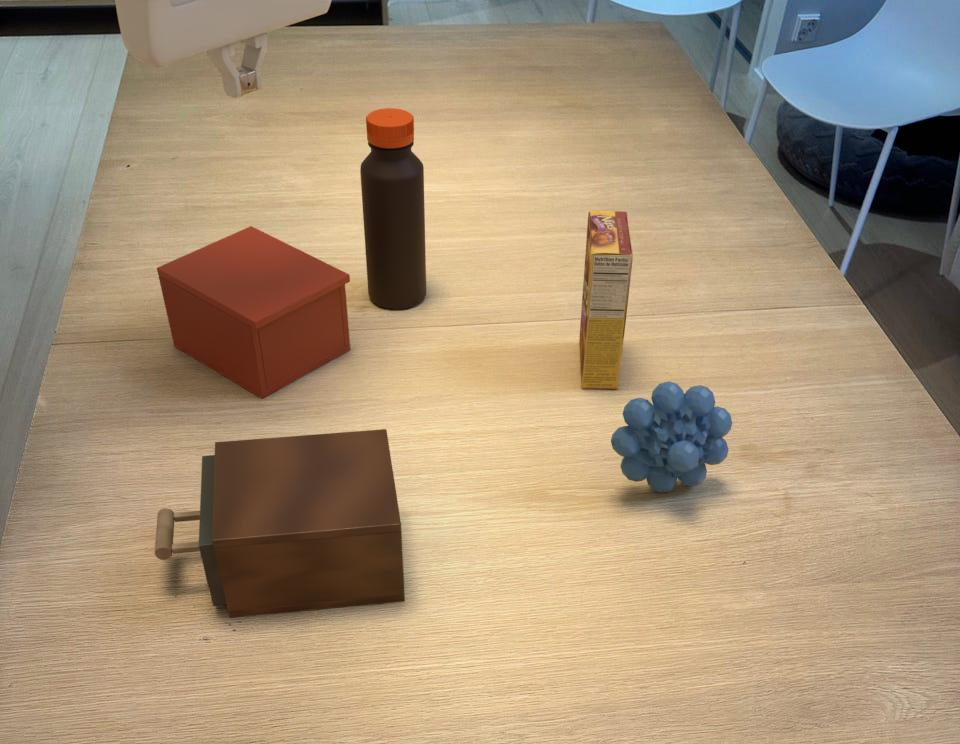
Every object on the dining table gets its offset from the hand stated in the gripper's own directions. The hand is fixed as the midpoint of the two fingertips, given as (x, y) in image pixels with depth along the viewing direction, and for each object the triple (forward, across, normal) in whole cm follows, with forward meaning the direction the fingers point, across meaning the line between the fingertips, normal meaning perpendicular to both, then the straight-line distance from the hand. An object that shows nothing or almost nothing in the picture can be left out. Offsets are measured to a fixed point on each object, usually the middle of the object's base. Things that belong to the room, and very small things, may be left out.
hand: (243, 92), depth 94 cm
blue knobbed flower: (+27, -9, +44) cm, 53 cm away
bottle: (+27, -18, 0) cm, 33 cm away
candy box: (+27, -22, +26) cm, 44 cm away
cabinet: (+27, +19, +26) cm, 42 cm away
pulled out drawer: (+26, +22, +24) cm, 41 cm away
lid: (+19, 0, -3) cm, 19 cm away
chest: (+27, 0, -3) cm, 27 cm away
